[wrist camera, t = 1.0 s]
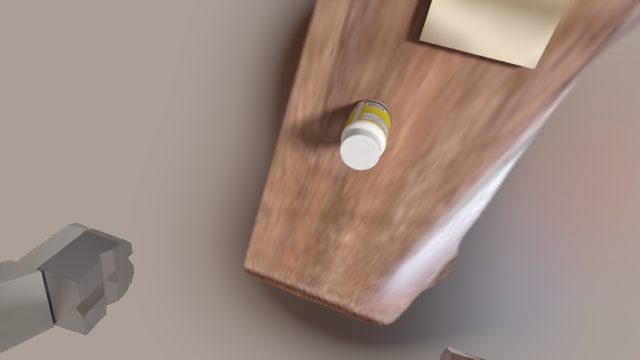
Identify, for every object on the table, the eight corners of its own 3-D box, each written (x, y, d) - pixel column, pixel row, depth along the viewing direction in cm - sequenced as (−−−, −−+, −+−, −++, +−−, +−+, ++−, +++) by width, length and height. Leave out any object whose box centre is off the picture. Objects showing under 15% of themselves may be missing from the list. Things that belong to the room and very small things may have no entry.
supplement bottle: (359, 140, 47) (346, 178, 40) (344, 106, 45) (327, 139, 38) (397, 129, 45) (390, 167, 38) (383, 92, 43) (373, 125, 36)
